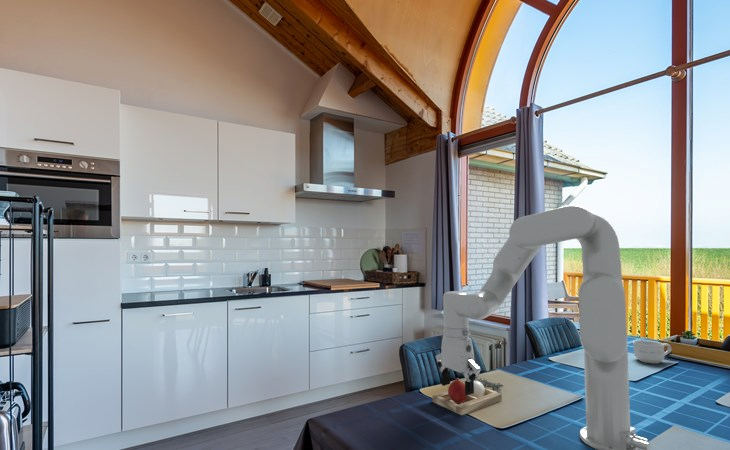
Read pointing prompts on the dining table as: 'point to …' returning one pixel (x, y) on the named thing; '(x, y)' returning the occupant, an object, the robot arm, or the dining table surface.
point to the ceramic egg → (478, 389)
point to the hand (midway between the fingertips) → (457, 389)
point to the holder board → (467, 401)
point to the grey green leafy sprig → (491, 385)
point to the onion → (457, 391)
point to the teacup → (650, 351)
